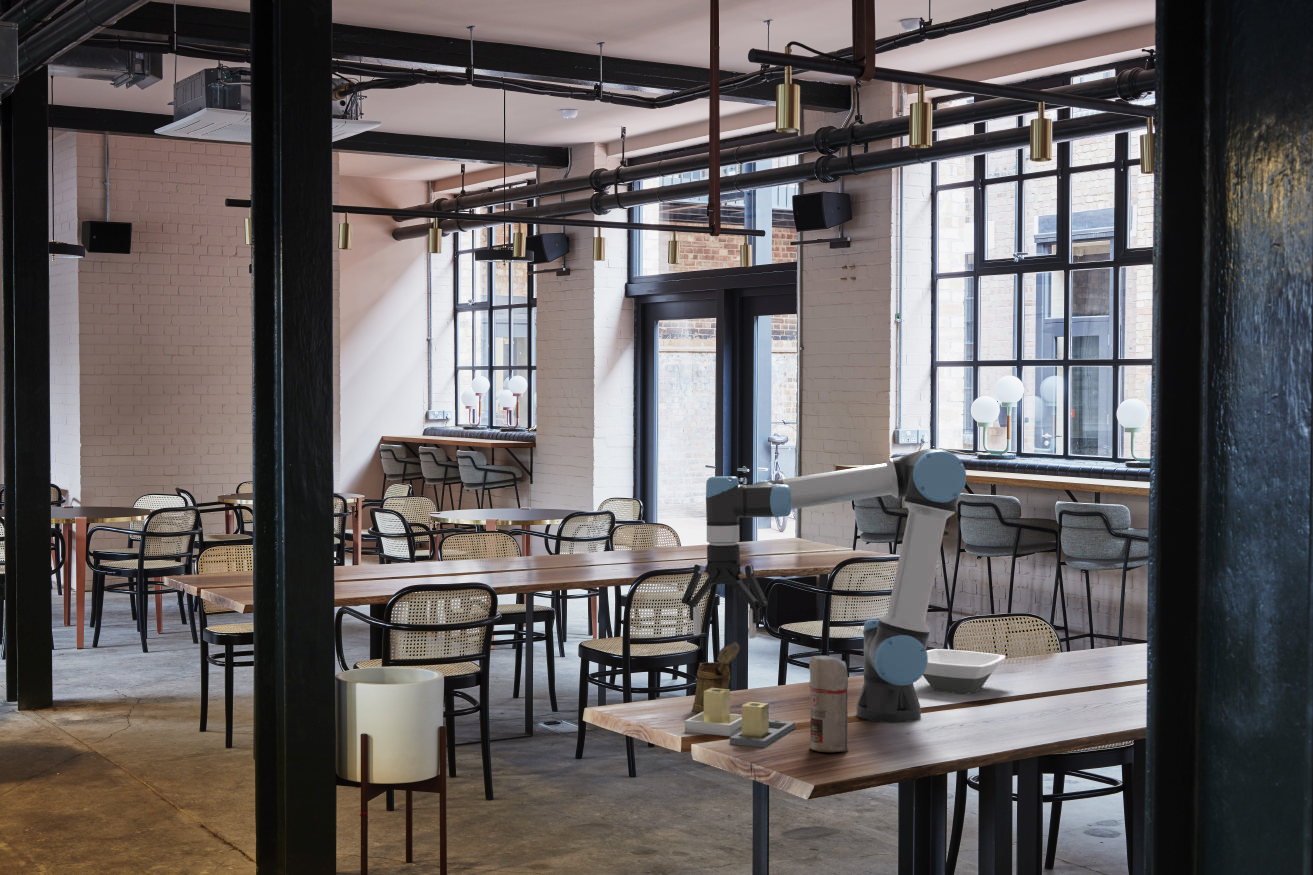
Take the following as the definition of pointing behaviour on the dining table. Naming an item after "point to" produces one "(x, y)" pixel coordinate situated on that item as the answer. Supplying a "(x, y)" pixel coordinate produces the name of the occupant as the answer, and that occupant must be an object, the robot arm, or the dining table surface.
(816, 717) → the spray can
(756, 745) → the gray rectangular tray
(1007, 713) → the dining table surface
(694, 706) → the wooden mug
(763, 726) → the brass nut
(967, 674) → the bowl
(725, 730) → the tray
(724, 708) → the brass nut
